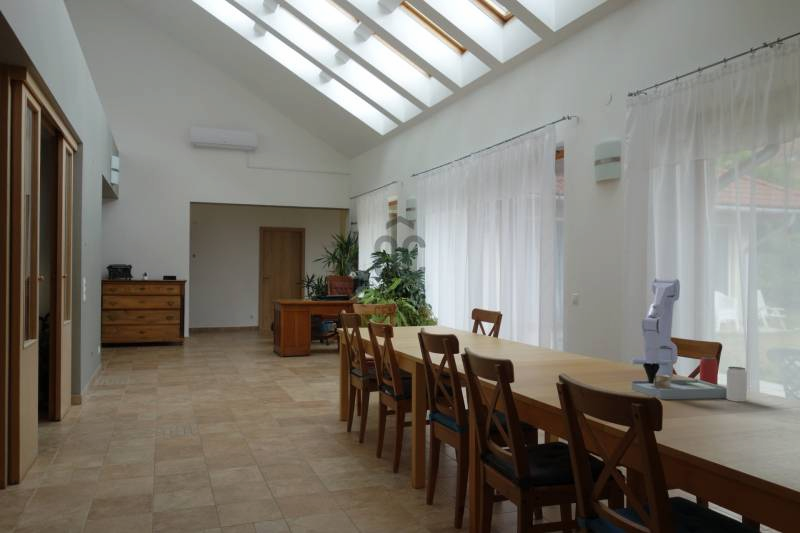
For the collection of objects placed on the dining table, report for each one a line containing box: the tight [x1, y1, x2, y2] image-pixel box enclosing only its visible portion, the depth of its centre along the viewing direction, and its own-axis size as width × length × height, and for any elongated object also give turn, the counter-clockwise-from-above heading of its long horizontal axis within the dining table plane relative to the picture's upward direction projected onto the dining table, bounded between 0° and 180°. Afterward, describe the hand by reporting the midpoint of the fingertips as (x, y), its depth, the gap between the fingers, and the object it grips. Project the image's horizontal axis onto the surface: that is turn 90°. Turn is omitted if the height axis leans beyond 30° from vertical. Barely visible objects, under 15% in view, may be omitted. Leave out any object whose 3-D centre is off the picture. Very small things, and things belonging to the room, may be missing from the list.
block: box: [653, 375, 671, 388], centre depth 240 cm, size 5×5×4 cm
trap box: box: [631, 379, 727, 400], centre depth 240 cm, size 19×29×4 cm, turn 100°
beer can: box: [699, 356, 719, 385], centre depth 255 cm, size 7×7×12 cm
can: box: [725, 366, 748, 403], centre depth 228 cm, size 6×6×12 cm
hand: (650, 383), depth 241 cm, fingers closed
